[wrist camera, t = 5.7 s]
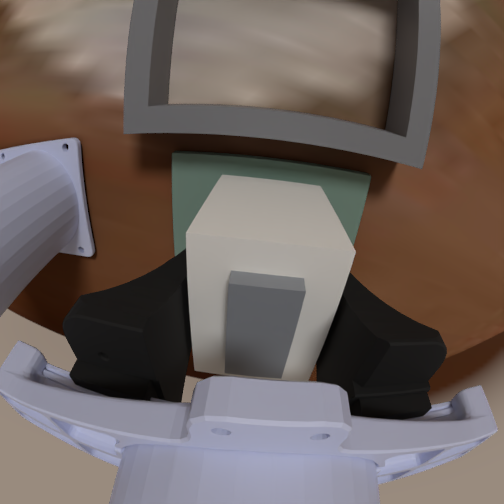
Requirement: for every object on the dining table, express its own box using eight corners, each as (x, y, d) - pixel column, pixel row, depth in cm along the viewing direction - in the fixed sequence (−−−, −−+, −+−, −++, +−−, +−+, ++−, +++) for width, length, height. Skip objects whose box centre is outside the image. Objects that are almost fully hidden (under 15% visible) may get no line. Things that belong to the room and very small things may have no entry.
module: (217, 282, 15) (191, 382, 10) (222, 174, 12) (179, 243, 7) (298, 291, 15) (308, 393, 10) (320, 186, 12) (361, 264, 7)
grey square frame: (146, 126, 13) (123, 133, 11) (167, -53, 7) (151, -71, 5) (400, 156, 13) (421, 169, 10) (416, -21, 7) (436, -34, 5)
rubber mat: (179, 277, 18) (176, 282, 17) (175, 150, 13) (172, 153, 13) (334, 293, 17) (335, 299, 17) (367, 173, 13) (371, 176, 13)
